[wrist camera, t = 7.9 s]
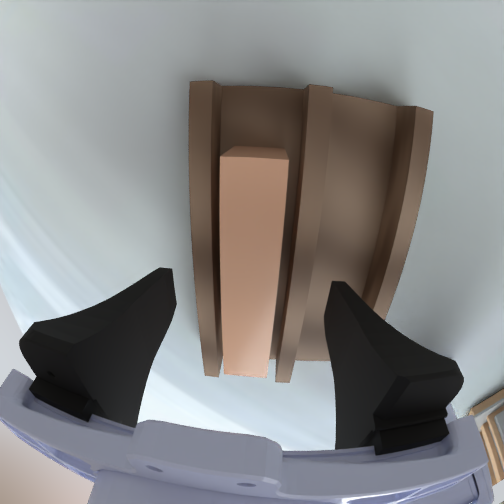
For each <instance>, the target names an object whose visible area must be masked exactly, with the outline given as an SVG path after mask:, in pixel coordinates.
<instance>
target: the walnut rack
mask: <svg viewBox="0 0 504 504" xmlns="http://www.w3.org/2000/svg"><path fill="white" fill-rule="evenodd" d="M433 112H434V111H431V110H428V109H424V108H421V107H418V106H394V105H390V104H386V103H382V102H377V101H373V100H368V99H363V98H358V97H353V96H347V95H341V94H335V93H333V87H327V86H319V85H311V84H309V85H308V86H307V87H306V88H305V89H293V88H281V87H264V86H221V85H220V84H218V83H216V82H215V81H213V80H211V81H192V82H190V90H189V191H190V217H191V237H192V253H193V268H194V280H195V292H196V303H197V314H198V323H199V333H200V341H201V350H202V358H203V366H204V373H205V376H213V377H219V373H220V368H221V363H222V359H223V341H222V315H221V279H220V156H221V155H223V154H224V153H225V152H227V151H228V150H230V149H231V148H232V147H234V146H252V147H270V148H285V151H286V153H287V156H288V159H289V166H288V179H287V192H286V204H285V216H284V227H283V238H282V248H281V259H280V268H279V278H278V288H277V297H276V306H275V314H274V323H273V331H272V340H271V348H270V356H269V359H276V380H275V382H284V383H290V379H291V375H292V370H293V366H294V362H295V360H300V361H330V356H329V351H328V347H327V342H326V337H325V329H324V312H325V308H326V304H327V300H328V296H329V291H330V287H331V282H332V281H345V282H346V283H347V284H348V285H349V286H350V287H351V288H352V289H353V290H354V291H355V292H356V293H357V294H358V295H359V296H360V298H361V299H362V300H363V301H364V302H365V303H366V304H367V305H368V306H369V307H370V308H371V309H372V310H373V311H374V312H376V313H377V314H378V315H379V316H380V317H381V318H382V319H383V320H385V318H386V315H387V313H388V310H389V307H390V305H391V302H392V299H393V297H394V294H395V291H396V288H397V285H398V282H399V279H400V276H401V273H402V270H403V267H404V264H405V260H406V257H407V254H408V250H409V247H410V243H411V239H412V236H413V232H414V228H415V224H416V220H417V216H418V211H419V207H420V202H421V197H422V193H423V187H424V182H425V177H426V171H427V164H428V158H429V151H430V143H431V134H432V124H433Z"/></svg>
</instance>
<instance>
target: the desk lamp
mask: <svg viewBox="0 0 504 504" xmlns="http://www.w3.org/2000/svg"><path fill="white" fill-rule="evenodd" d="M469 415H473V417H474V419H475V422H476V425H477V427H478V430H479V433H480V435H481V438H482V441H483V444H484V447H485V450H486V453H487V457H488V460H489V462H488V463H487V464H488V468H489V471H490V475H491V480H492V486H493V485H495V484H497V483H498V482H500V481H501V480H503V479H504V389H502V390H501V391H499V392H498V393H496V394H494V395H493V396H491V397H490V398H488V399H486V400H485V401H483V402H481V403H480V404H478V405H476V406H474V407H473V408H471V410H470V413H469ZM469 415H468V416H469ZM500 504H504V501H503V502H502V503H500Z"/></svg>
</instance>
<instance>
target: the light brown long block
mask: <svg viewBox="0 0 504 504" xmlns="http://www.w3.org/2000/svg"><path fill="white" fill-rule="evenodd" d="M288 166H289V159H288V156H287V153H286V151H285V148H270V147H252V146H234V147H232V148H231V149H230V150H228V151H227V152H225V153H224V154H223V155H221V156H220V279H221V315H222V341H223V363H224V374H228V375H238V376H249V377H262V378H267V371H268V364H269V356H270V348H271V340H272V331H273V323H274V314H275V306H276V297H277V288H278V278H279V268H280V259H281V248H282V238H283V227H284V216H285V204H286V192H287V179H288Z"/></svg>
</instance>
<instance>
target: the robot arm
mask: <svg viewBox="0 0 504 504" xmlns="http://www.w3.org/2000/svg"><path fill="white" fill-rule="evenodd" d="M176 305H177V303H176V296H175V288H174V280H173V272H172V269H170V268H158V269H156V270H155V271H153V272H151V273H150V274H148V275H147V276H145V277H144V278H142V279H141V280H139V281H137V282H136V283H134V284H133V285H131V286H130V287H128V288H126V289H125V290H123V291H121V292H120V293H118V294H116V295H115V296H113V297H111V298H109V299H107V300H105V301H103V302H101V303H99V304H97V305H95V306H92V307H90V308H87V309H85V310H82V311H79V312H77V313H74V314H70V315H67V316H63V317H60V318H56V319H51V320H45V321H40V322H34V323H33V324H32V326H31V327H30V328H29V329H28V331H27V332H26V333H25V334H24V335H23V337H22V338H21V339H20V341H19V346H20V350H21V352H22V354H23V356H24V358H25V359H26V361H27V362H28V364H29V365H30V367H31V369H32V370H33V372H34V373H35V375H36V376H37V377H36V378H35V380H34V381H33V380H31V379H30V378H29V377H28V376H26V375H24V374H22V373H21V372H19V371H17V370H15V369H13V370H12V371H11V372H10V374H9V375H8V377H7V378H6V379H5V381H4V382H3V384H2V385H1V387H0V420H1V422H2V423H3V424H5V425H6V426H7V427H8V428H9V429H10V430H11V431H12V432H13V433H14V434H15V435H16V436H17V437H18V438H20V439H21V440H23V441H24V442H25V443H27V444H28V445H30V446H31V447H33V448H34V449H36V450H37V451H39V452H41V453H42V454H44V455H45V456H47V457H48V458H50V459H52V460H53V461H55V462H57V463H58V464H60V465H62V466H64V467H65V468H67V469H69V470H71V471H72V472H74V473H76V474H78V475H80V476H82V477H84V478H86V479H88V480H90V481H92V482H94V486H93V489H92V492H91V495H90V498H89V500H88V503H87V504H469V503H470V504H492V502H493V501H494V495H493V490H492V480H491V475H490V471H489V468H488V464H487V463H488V462H489V460H488V457H487V453H486V450H485V447H484V444H483V441H482V438H481V435H480V433H479V430H478V427H477V425H476V422H475V419H474V417H473V415H469V416H466V417H463V418H459V419H457V418H456V415H455V412H454V410H453V407H452V404H451V401H452V400H453V399H454V397H455V396H456V395H457V394H458V392H459V391H460V389H461V388H462V385H463V382H464V377H463V375H462V373H461V371H460V369H459V367H458V365H457V363H456V361H454V360H452V359H449V358H447V357H444V356H442V355H439V354H437V353H434V352H432V351H430V350H428V349H426V348H424V347H423V346H421V345H419V344H417V343H415V342H414V341H412V340H411V339H409V338H407V337H406V336H404V335H403V334H401V333H400V332H399V331H397V330H396V329H395V328H393V327H392V326H391V325H389V324H388V323H387V322H386V321H384V320H383V319H382V318H381V317H380V316H379V315H378V314H377V313H376V312H374V311H373V310H372V309H371V308H370V307H369V306H368V305H367V304H366V303H365V302H364V301H363V300H362V299H361V298H360V296H359V295H358V294H357V293H356V292H355V291H354V290H353V289H352V288H351V287H350V286H349V285H348V284H347V283H346V282H345V281H332V282H331V287H330V291H329V296H328V300H327V304H326V308H325V312H324V329H325V337H326V342H327V347H328V351H329V356H330V361H331V366H332V371H333V376H334V384H335V400H336V443H335V450H321V451H282V448H281V446H280V445H279V444H278V443H277V442H274V441H272V440H270V439H268V438H266V437H260V436H254V435H249V434H239V433H230V432H221V431H214V430H207V429H201V428H195V427H189V426H184V425H179V424H174V423H169V422H165V421H156V420H146V421H143V422H140V423H137V421H138V415H139V411H140V406H141V401H142V397H143V393H144V389H145V386H146V382H147V379H148V375H149V372H150V369H151V366H152V363H153V360H154V358H155V356H156V354H157V351H158V349H159V347H160V345H161V343H162V341H163V339H164V337H165V334H166V332H167V330H168V328H169V326H170V324H171V321H172V318H173V315H174V312H175V308H176ZM471 502H472V503H471Z"/></svg>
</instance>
